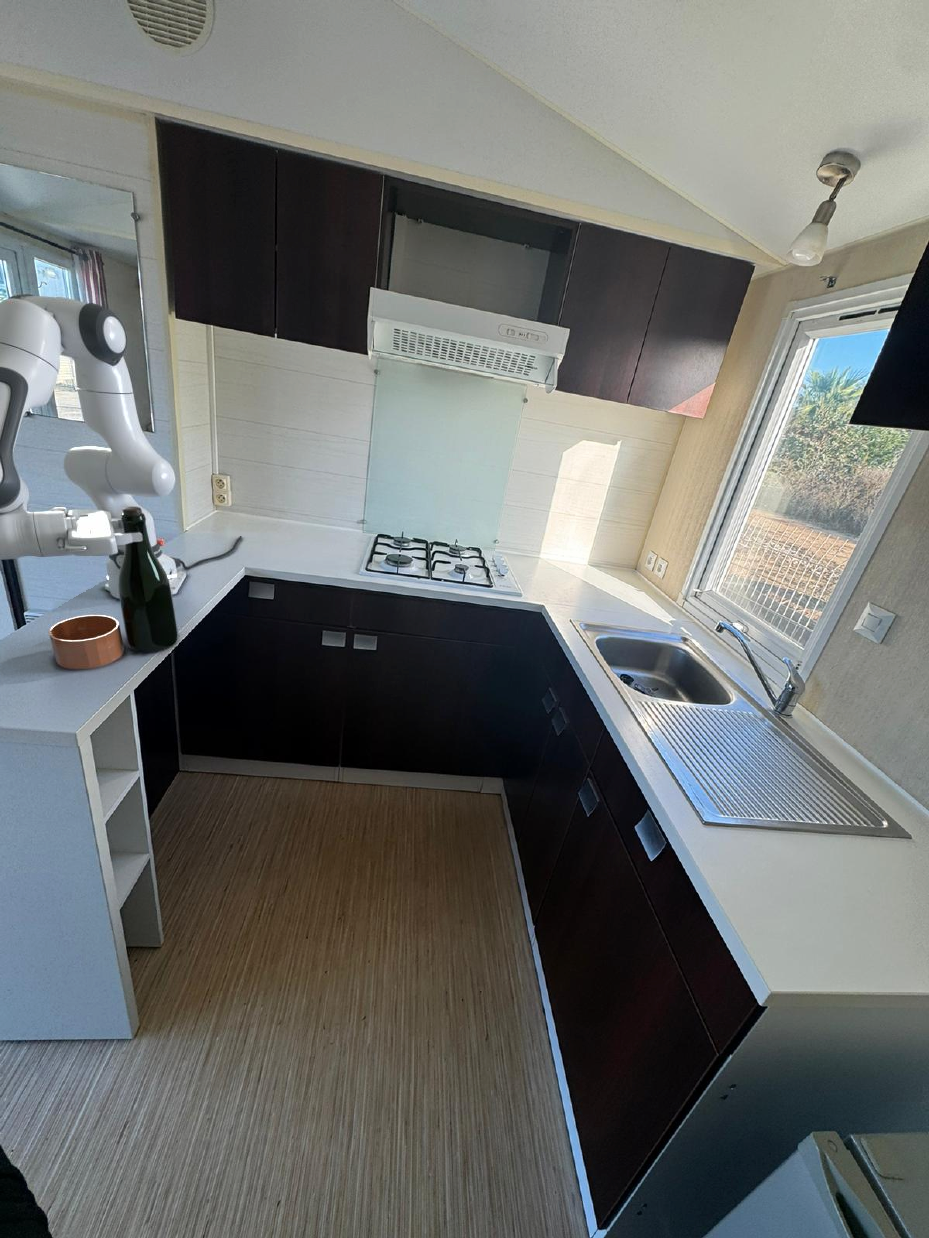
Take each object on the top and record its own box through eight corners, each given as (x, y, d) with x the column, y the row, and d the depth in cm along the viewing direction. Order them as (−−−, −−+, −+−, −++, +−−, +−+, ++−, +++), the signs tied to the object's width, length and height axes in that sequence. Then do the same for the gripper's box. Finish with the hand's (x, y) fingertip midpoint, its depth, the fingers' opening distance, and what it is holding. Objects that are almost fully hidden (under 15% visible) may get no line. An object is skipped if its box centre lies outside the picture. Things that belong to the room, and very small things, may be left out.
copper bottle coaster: (78, 639, 113) (72, 613, 110) (134, 643, 115) (129, 617, 112) (42, 667, 103) (34, 638, 100) (105, 671, 104) (98, 643, 101)
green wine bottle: (116, 647, 113) (88, 507, 98) (153, 628, 122) (132, 498, 108) (154, 658, 111) (130, 517, 96) (189, 638, 120) (172, 507, 106)
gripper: (53, 534, 88) (142, 530, 96) (55, 505, 103) (133, 503, 110) (60, 566, 91) (147, 560, 99) (62, 533, 105) (137, 530, 113)
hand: (140, 530), depth 105 cm, fingers open, 7 cm apart
